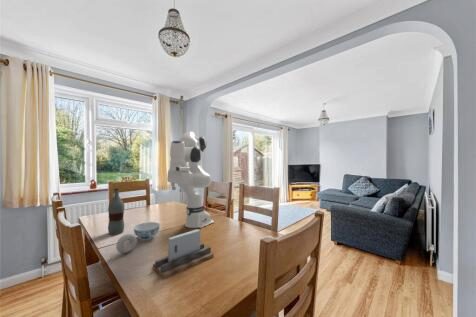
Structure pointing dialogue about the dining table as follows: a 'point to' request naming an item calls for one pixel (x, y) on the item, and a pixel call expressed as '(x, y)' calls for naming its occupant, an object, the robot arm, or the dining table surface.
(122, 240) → the donut
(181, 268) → the track base
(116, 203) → the bottle
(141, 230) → the chinaware
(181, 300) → the dining table surface
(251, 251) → the dining table surface
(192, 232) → the door panel
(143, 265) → the dining table surface
